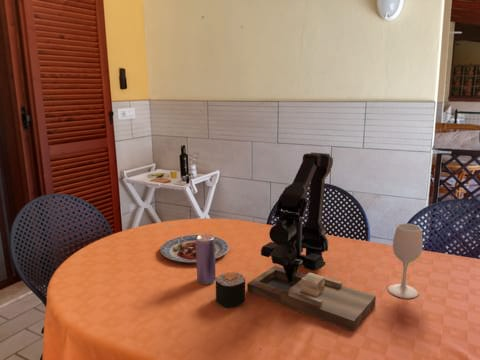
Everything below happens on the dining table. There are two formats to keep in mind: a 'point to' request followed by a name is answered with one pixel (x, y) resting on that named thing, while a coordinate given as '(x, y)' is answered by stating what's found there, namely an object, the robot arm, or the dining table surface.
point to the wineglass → (406, 256)
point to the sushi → (230, 289)
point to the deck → (314, 298)
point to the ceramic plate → (189, 248)
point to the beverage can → (205, 259)
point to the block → (312, 284)
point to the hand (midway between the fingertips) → (290, 281)
